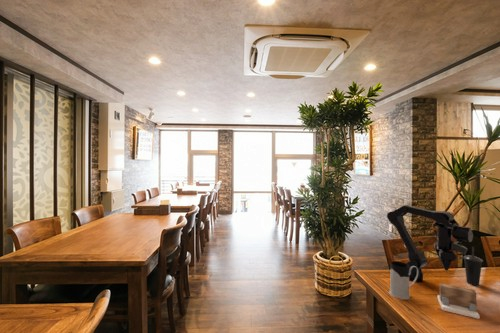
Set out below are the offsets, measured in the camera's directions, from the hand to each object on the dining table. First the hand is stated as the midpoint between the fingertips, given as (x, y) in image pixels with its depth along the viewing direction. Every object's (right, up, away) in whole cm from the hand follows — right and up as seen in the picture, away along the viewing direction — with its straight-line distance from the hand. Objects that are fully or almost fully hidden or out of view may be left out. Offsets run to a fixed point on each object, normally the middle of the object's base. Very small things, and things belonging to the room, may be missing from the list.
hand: (444, 267), depth 120 cm
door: (-7, -10, -15) cm, 19 cm away
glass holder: (-23, -12, -4) cm, 26 cm away
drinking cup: (+22, -12, +7) cm, 26 cm away
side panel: (-7, -12, -15) cm, 20 cm away
